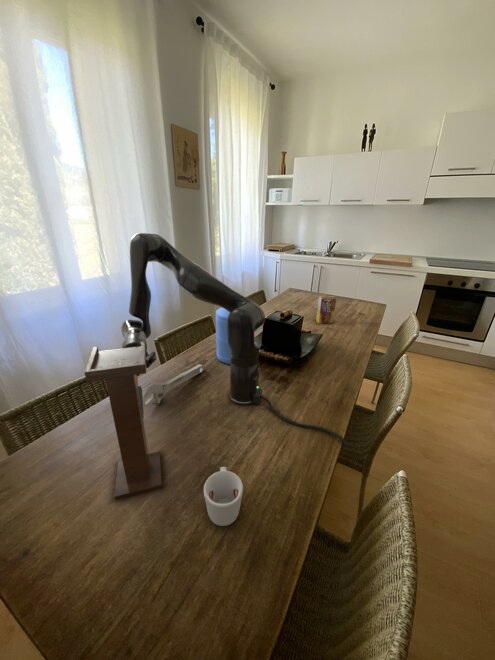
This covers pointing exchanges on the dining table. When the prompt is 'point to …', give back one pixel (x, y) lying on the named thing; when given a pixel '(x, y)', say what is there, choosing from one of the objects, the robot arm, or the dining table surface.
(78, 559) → the dining table surface
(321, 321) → the candy box
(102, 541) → the dining table surface
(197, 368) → the wrench
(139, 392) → the black and white bar
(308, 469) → the dining table surface
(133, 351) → the stand
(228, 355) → the water jug
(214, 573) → the dining table surface
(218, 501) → the cup
